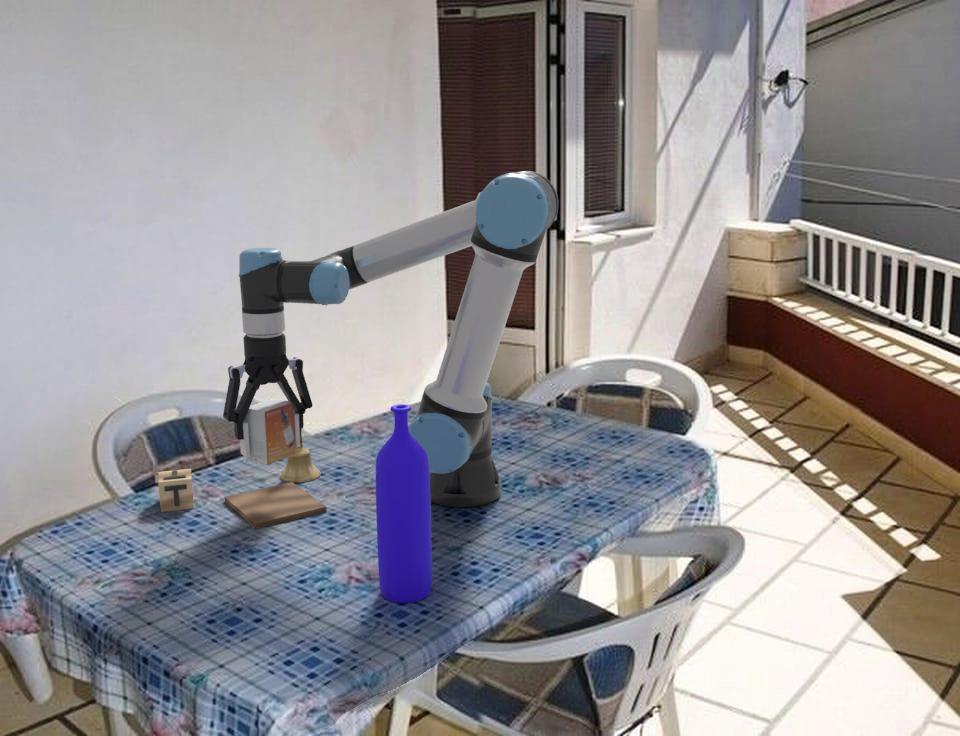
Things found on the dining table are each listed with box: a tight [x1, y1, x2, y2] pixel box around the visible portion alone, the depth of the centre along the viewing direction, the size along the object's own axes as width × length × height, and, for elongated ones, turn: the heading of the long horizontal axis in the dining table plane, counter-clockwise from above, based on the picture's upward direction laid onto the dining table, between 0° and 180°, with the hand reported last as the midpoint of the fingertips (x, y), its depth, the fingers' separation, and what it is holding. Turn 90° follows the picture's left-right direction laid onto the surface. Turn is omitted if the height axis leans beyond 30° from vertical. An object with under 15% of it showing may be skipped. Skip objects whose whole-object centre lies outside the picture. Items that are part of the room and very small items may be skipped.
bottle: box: [375, 403, 433, 604], centre depth 146 cm, size 8×8×30 cm
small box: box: [244, 397, 296, 466], centre depth 181 cm, size 8×6×10 cm
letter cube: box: [157, 468, 195, 513], centre depth 185 cm, size 6×6×6 cm
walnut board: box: [224, 482, 328, 529], centre depth 185 cm, size 16×14×1 cm
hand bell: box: [280, 428, 322, 484], centre depth 199 cm, size 8×8×16 cm
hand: (270, 450), depth 182 cm, fingers closed on small box, 9 cm apart
